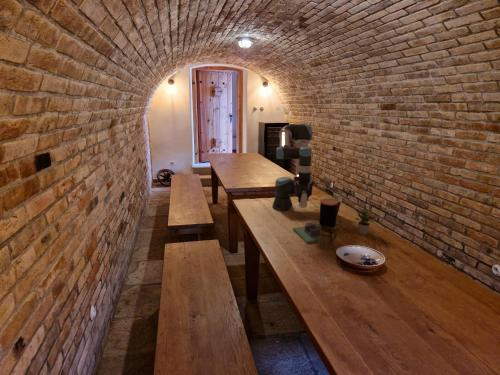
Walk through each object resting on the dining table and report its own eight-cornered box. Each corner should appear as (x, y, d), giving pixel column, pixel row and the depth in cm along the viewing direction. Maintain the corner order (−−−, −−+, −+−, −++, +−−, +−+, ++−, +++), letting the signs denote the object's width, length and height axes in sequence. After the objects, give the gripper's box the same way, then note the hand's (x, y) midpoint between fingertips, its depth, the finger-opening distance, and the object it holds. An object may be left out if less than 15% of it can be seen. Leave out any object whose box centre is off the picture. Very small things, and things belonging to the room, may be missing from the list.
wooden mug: (334, 254, 170) (337, 223, 165) (313, 246, 180) (315, 216, 175) (343, 248, 176) (345, 219, 171) (322, 241, 186) (324, 212, 181)
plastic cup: (332, 211, 232) (333, 196, 229) (343, 215, 224) (345, 199, 221) (321, 214, 226) (322, 198, 223) (333, 219, 218) (334, 203, 215)
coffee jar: (334, 224, 209) (336, 199, 204) (336, 231, 199) (339, 204, 194) (317, 224, 210) (319, 198, 205) (319, 230, 200) (321, 204, 195)
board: (292, 230, 201) (293, 222, 199) (315, 227, 205) (315, 219, 204) (307, 243, 182) (307, 235, 181) (331, 240, 187) (332, 231, 185)
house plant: (356, 238, 188) (358, 213, 184) (345, 229, 202) (348, 205, 197) (378, 237, 191) (381, 211, 186) (366, 227, 204) (369, 204, 199)
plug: (298, 205, 209) (299, 191, 206) (303, 204, 210) (303, 190, 207) (302, 207, 205) (302, 193, 202) (306, 207, 206) (307, 192, 203)
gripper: (295, 174, 194) (294, 209, 201) (318, 172, 199) (316, 206, 206) (290, 171, 201) (289, 205, 208) (313, 169, 205) (311, 202, 213)
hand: (302, 206), depth 207 cm, fingers closed on plug, 3 cm apart
